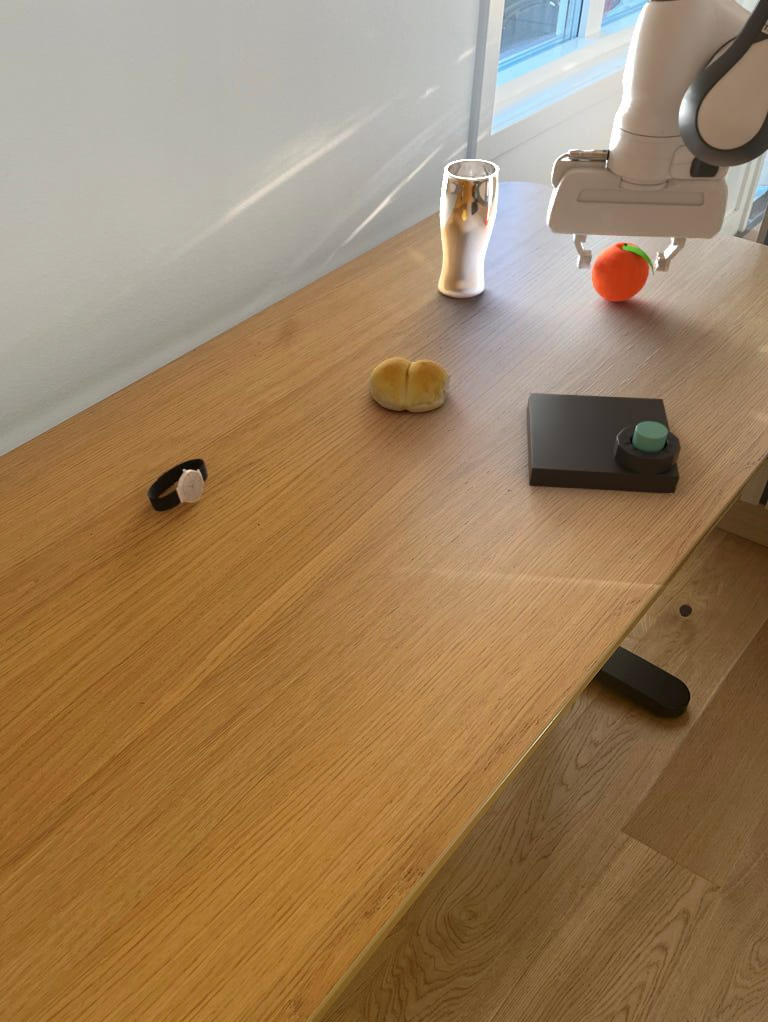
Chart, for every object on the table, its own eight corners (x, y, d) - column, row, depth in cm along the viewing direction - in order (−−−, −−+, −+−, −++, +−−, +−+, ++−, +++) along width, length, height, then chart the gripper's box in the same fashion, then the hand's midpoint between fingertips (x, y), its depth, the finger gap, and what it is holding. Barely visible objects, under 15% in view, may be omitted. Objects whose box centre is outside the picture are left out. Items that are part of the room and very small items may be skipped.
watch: (174, 523, 93) (170, 493, 91) (138, 508, 95) (132, 479, 92) (220, 482, 98) (217, 453, 95) (184, 469, 99) (179, 440, 97)
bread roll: (377, 372, 111) (378, 341, 108) (452, 381, 109) (455, 350, 106) (360, 410, 106) (360, 378, 103) (439, 420, 104) (441, 388, 101)
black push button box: (657, 416, 103) (667, 383, 100) (674, 494, 93) (684, 460, 90) (526, 410, 104) (531, 377, 102) (528, 486, 95) (534, 453, 92)
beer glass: (431, 298, 124) (439, 178, 113) (438, 274, 128) (446, 157, 118) (484, 301, 122) (498, 181, 112) (489, 277, 127) (503, 159, 116)
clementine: (660, 299, 121) (674, 244, 116) (630, 319, 118) (643, 263, 112) (605, 281, 125) (617, 227, 120) (575, 299, 122) (586, 245, 117)
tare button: (661, 436, 94) (666, 421, 92) (665, 454, 92) (669, 439, 90) (630, 435, 94) (634, 420, 93) (633, 452, 92) (637, 437, 91)
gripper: (557, 159, 108) (537, 276, 118) (745, 163, 105) (708, 283, 115) (554, 139, 112) (536, 254, 122) (735, 143, 109) (701, 260, 119)
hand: (621, 268), depth 118 cm, fingers open, 8 cm apart
